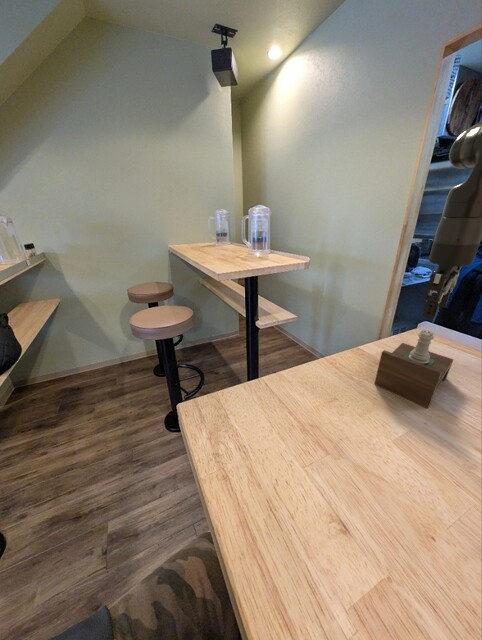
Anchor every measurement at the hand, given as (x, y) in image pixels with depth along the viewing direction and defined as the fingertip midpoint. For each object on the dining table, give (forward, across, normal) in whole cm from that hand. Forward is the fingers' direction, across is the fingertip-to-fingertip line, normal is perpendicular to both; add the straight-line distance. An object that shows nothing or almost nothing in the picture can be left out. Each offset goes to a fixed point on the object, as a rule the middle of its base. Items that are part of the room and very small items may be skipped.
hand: (434, 311), depth 59 cm
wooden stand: (+20, -1, 0) cm, 20 cm away
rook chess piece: (+14, 0, 0) cm, 14 cm away
